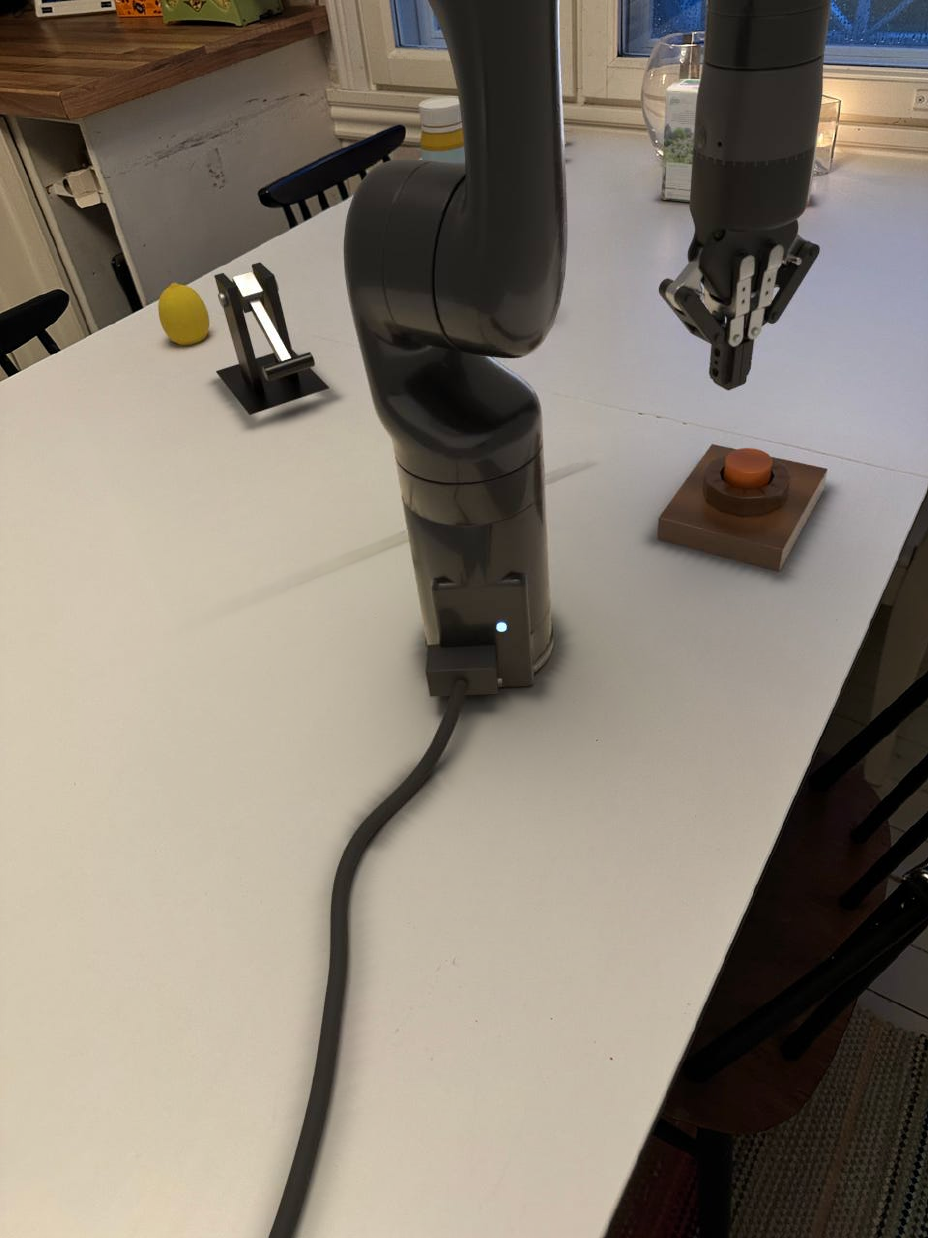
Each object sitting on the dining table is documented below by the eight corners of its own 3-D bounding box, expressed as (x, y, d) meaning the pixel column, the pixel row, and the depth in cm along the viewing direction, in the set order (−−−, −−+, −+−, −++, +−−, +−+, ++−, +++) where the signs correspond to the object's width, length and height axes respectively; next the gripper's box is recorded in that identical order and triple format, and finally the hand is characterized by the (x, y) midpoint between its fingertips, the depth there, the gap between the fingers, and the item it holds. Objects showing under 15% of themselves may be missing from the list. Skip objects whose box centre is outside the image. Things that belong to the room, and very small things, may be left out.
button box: (778, 572, 71) (786, 530, 69) (656, 539, 76) (659, 499, 73) (823, 490, 79) (831, 449, 76) (709, 464, 83) (713, 425, 80)
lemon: (161, 355, 111) (139, 290, 105) (191, 335, 114) (171, 271, 109) (196, 361, 109) (176, 295, 103) (226, 341, 112) (207, 276, 107)
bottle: (422, 223, 136) (408, 109, 125) (437, 205, 140) (425, 95, 130) (468, 223, 134) (457, 108, 124) (481, 206, 138) (472, 94, 128)
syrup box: (713, 190, 134) (722, 77, 124) (697, 204, 130) (705, 89, 121) (675, 187, 136) (681, 76, 127) (659, 200, 133) (664, 87, 123)
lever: (315, 372, 93) (315, 356, 91) (268, 387, 91) (267, 371, 89) (266, 283, 96) (265, 266, 94) (221, 297, 95) (218, 280, 93)
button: (761, 495, 73) (763, 476, 72) (716, 484, 74) (718, 466, 73) (775, 471, 75) (778, 453, 74) (732, 462, 77) (734, 443, 75)
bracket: (332, 398, 99) (306, 280, 90) (252, 425, 96) (219, 307, 88) (292, 357, 107) (266, 246, 98) (218, 381, 104) (184, 269, 96)
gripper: (711, 176, 54) (691, 433, 66) (877, 124, 58) (830, 375, 70) (633, 149, 59) (628, 392, 71) (790, 102, 63) (761, 340, 75)
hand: (728, 383), depth 70 cm, fingers closed
